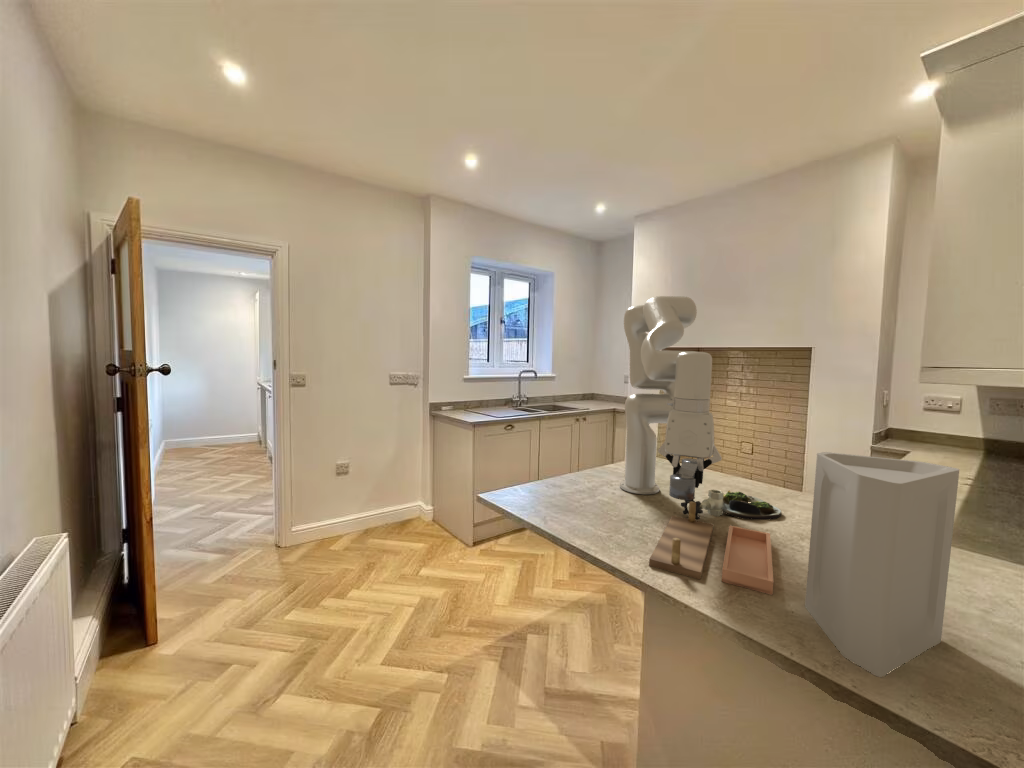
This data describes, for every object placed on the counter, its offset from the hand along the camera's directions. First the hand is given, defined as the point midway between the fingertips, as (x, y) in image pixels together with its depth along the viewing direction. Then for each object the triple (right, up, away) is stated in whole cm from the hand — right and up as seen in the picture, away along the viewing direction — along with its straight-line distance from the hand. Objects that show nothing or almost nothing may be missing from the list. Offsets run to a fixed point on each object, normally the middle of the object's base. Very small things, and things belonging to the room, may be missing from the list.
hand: (687, 483), depth 96 cm
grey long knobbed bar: (0, 0, 0) cm, 0 cm away
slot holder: (+11, -16, -5) cm, 20 cm away
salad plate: (+27, -14, +25) cm, 39 cm away
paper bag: (+17, -18, -27) cm, 36 cm away
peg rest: (0, -15, +1) cm, 15 cm away
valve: (+13, -14, +19) cm, 27 cm away
